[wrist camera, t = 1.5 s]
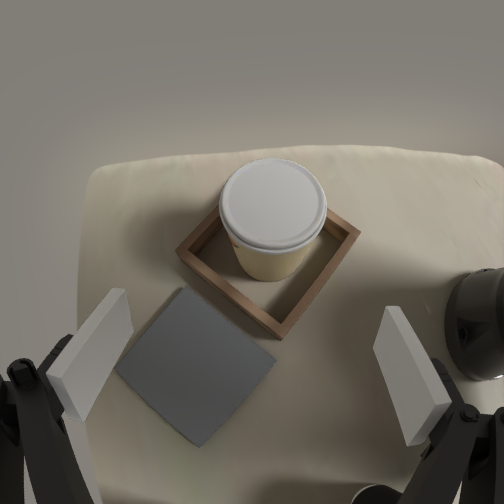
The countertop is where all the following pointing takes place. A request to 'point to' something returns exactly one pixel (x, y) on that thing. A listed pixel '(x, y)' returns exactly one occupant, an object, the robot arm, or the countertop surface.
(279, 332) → the cup holder
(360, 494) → the dixie cup
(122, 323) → the robot arm
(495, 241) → the countertop surface
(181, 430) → the rubber mat
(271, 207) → the coffee cup
